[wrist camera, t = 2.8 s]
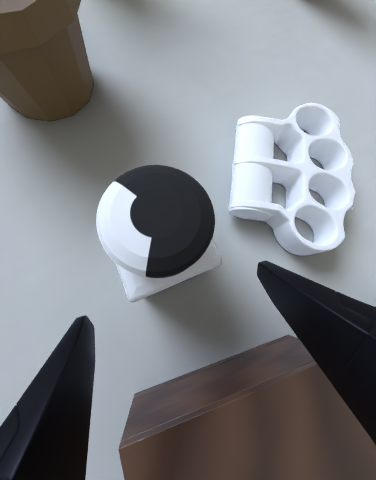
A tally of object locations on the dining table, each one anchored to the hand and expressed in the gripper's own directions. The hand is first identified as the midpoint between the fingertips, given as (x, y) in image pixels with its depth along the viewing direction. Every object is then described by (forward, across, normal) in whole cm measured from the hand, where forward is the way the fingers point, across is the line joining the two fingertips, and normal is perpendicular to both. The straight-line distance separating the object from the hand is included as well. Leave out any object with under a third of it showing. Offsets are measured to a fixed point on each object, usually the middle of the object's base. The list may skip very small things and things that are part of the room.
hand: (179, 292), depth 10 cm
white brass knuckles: (+14, -17, +2) cm, 22 cm away
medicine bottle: (+10, 0, +5) cm, 11 cm away
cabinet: (-2, -2, +18) cm, 18 cm away
